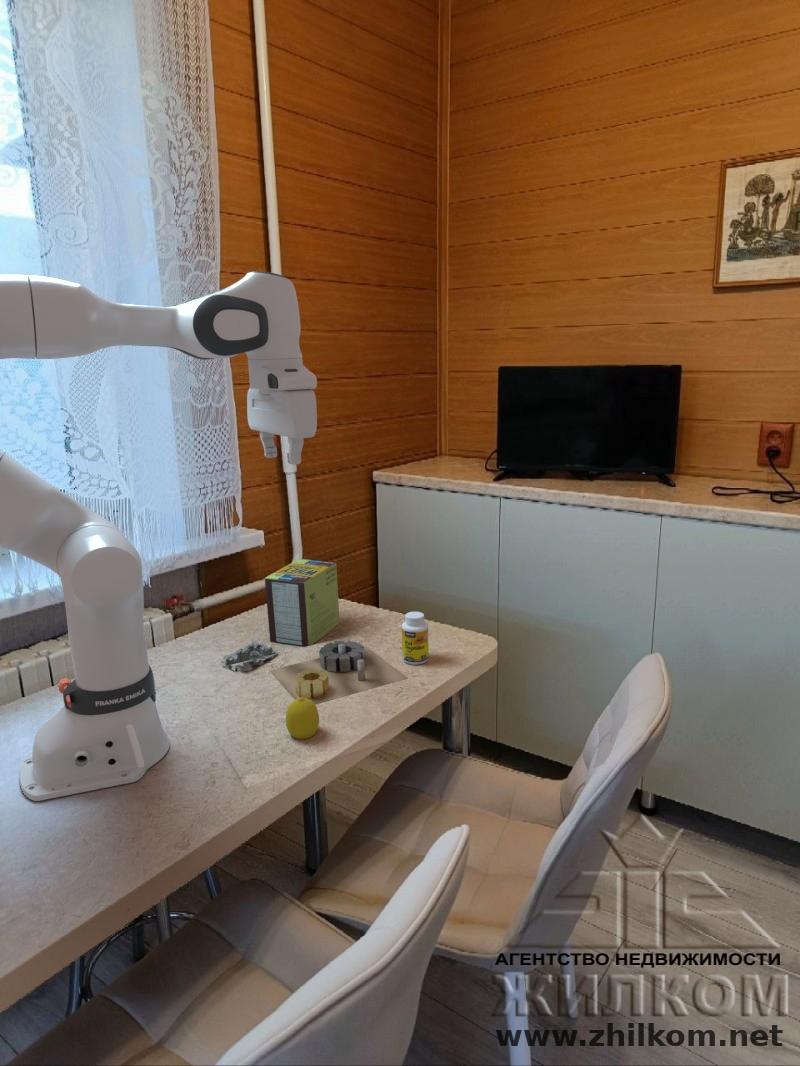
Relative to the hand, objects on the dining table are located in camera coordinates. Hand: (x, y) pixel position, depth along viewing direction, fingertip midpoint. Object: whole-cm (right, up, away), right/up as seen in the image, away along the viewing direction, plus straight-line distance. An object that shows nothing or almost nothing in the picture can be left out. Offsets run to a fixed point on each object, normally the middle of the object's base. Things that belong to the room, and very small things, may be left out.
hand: (282, 460), depth 119 cm
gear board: (+8, -42, +21) cm, 47 cm away
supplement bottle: (+23, -39, +29) cm, 54 cm away
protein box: (-2, -36, +45) cm, 58 cm away
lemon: (+4, -48, 0) cm, 48 cm away
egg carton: (-11, -41, +28) cm, 51 cm away
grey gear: (+8, -39, +25) cm, 47 cm away
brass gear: (+3, -42, +14) cm, 44 cm away
